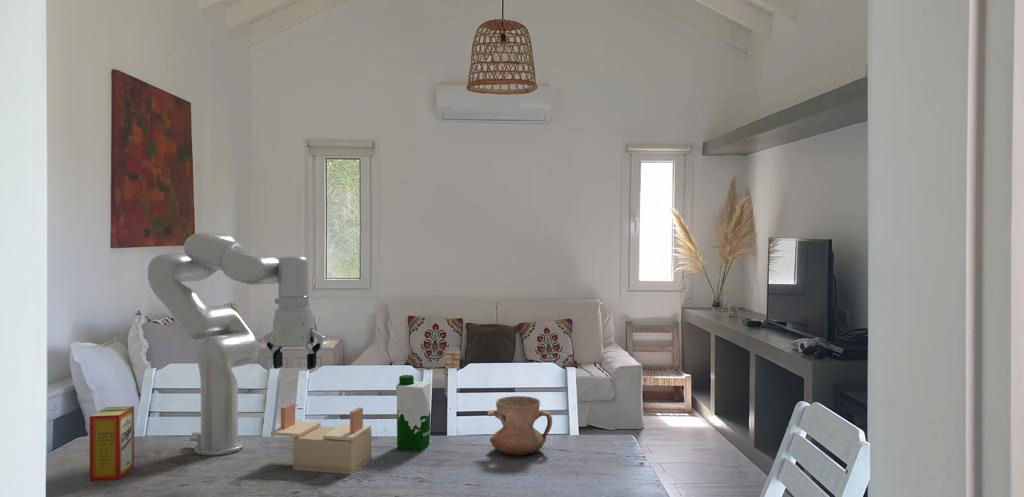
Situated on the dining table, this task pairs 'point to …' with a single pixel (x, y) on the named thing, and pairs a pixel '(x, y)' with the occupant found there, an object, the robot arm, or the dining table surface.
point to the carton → (330, 452)
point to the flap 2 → (349, 427)
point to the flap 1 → (293, 423)
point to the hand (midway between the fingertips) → (294, 368)
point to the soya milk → (413, 413)
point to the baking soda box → (111, 443)
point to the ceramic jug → (519, 425)
